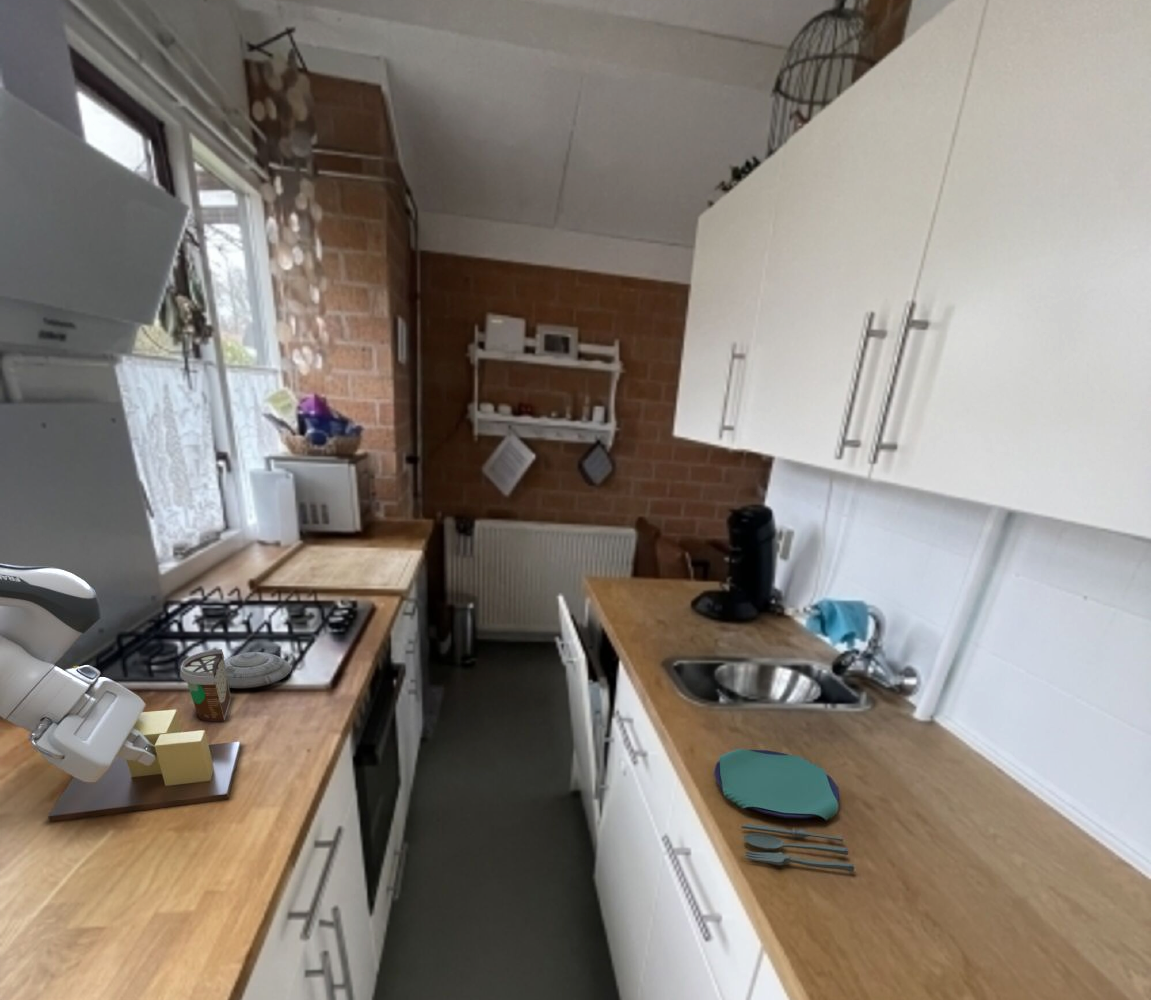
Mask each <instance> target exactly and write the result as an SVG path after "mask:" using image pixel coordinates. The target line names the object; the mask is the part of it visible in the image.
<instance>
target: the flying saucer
mask: <svg viewBox="0 0 1151 1000" xmlns="http://www.w3.org/2000/svg"><path fill="white" fill-rule="evenodd" d="M224 663H225V668H226V674H227V679H228V685H229V689H251V688H252V689H253V688H259V687H264V686H267V685H271V684H274V683H277V682H279V681H281V680H283V679H284V678H286V677H287V676H288V675H289V674H290V673H291V671H292V666H291V665H290V663H289V662H288V661H287V660H285V659H284V658H282V657H281V656H278V655H276V654H273V653H269V652H263V651H249V652H242V653H238V654H235V655H232V656H230V657H228V658H225V659H224Z"/></svg>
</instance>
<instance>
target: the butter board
mask: <svg viewBox="0 0 1151 1000" xmlns="http://www.w3.org/2000/svg"><path fill="white" fill-rule="evenodd" d="M208 745H209V749H210V754H211V758H212V762H213V767H214V770H213V774H212V777H211V780H210V781H204V782H196V783H187V784H179V785H170V786H165V783H164V779H163V775H162V774H156V775H147V776H139V777H131V774H130V771H129V767H128V764H127V761H126V760H125V759H121V758H119V757H117V756H116V758H115V759H114V761H113V763H112V764H111V766H110V768H109V769H108V770H107V771H106V772H105V773H104V774H103V776H102V777H101V778H100V779H99V780H98V781H97V782H84V781H81V780H79V779H77V778H75V777H74V776H72V779H71V780H70V782H69V783H68V785H67V787H65V790H64V791H63V792H62V794H61V796H60V797H59V798H58V800H57V802H56V803H55V805H54V807H53V808H52V809H51V811H50V812H49V814H48V816H47V817H48V820H49V822H50V823H54V822H63V821H68V820H78V819H86V818H93V817H100V816H109V815H117V814H124V813H132V812H140V811H147V810H155V809H162V808H170V807H178V806H179V807H180V806H186V805H194V804H201V803H202V804H203V803H209V802H217V801H225V800H229V797H230V794H231V793H230V792H231V789H232V785H233V782H234V777H235V773H236V769H237V765H238V762H239V761H238V760H239V757H240V754H241V753H240V752H241V749H242V743H241V741H231V742H220V743H215V744H214V743H212V744H208Z"/></svg>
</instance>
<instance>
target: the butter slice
mask: <svg viewBox="0 0 1151 1000" xmlns="http://www.w3.org/2000/svg"><path fill="white" fill-rule="evenodd" d="M209 745H210V744H209V741H208V736H207V733H206V730H205V729H203V730H201V729H200V730H192V731H183V732H180V733H170V734H160V735H159V737H158V739H157V741H156V743H155V745H154V746H155V750H156V754H157V757H158V761H159V765H160V768H161V772H162V775H163V779H164V783H165V786H170V785H179V784H187V783H196V782H204V781H210V780H211V777H212V774H213V770H214V767H213V762H212V758H211V754H210V749H209Z"/></svg>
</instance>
